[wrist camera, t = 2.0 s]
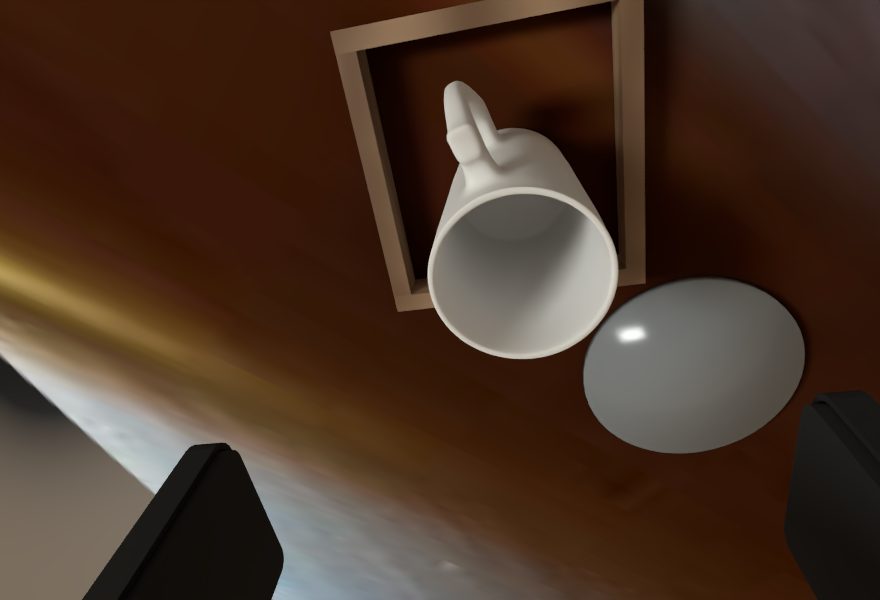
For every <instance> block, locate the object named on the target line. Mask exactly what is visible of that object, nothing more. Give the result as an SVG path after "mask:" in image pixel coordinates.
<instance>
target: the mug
mask: <svg viewBox="0 0 880 600" xmlns="http://www.w3.org/2000/svg"><path fill="white" fill-rule="evenodd" d="M444 108H445V117H446V123H447V129H448V134H447V141H448V143H449V145H450V147H451V149H452V151H453V153H454V155H455V157H456V158H457V160H458V161H459V162H460V164H459V167H458V169H457V171H456V174H455V177H454V180H453V183H452V186H451V189H450V193H449V196H448V199H447V202H446V205H445V208H444V211H443V214H442V217H441V220H440V223H439V226H438V229H437V233H436V236H435V240H434V244H433V247H432V250H431V253H430V258H429V263H428V286H429V291H430V295H431V299H432V302H433V304H434V306H435V309H436V311H437V313H438V314H439V316H440V317H441V319H442V320H443V322H444V323H445V324H446V326H447V327H448V328H449V329H450V330H451V331H452V332H453V333H454V334H455V335H456V336H457V337H459V338H460V339H461V340H463V341H464V342H466V343H467V344H469V345H470V346H472V347H474V348H476V349H478V350H480V351H483V352H485V353H488V354H491V355H495V356H499V357H504V358H512V359H531V358H539V357H545V356H549V355H552V354H555V353H558V352H561V351H563V350H565V349H567V348H569V347H571V346H573V345H574V344H576V343H578V342H579V341H581V340H582V339H583V338H585V337H586V336H587V335H588V334H589V333H590V332H591V331H592V330H593V329H594V328H595V327H596V326H597V325H598V324H599V323H600V321H601V320H602V319H603V317H604V316H605V314H606V313H607V311H608V309H609V307H610V305H611V303H612V301H613V298H614V295H615V292H616V288H617V283H618V259H617V254H616V250H615V246H614V243H613V241H612V239H611V236H610V234H609V233H608V231H607V229H606V227H605V225H604V223H603V221H602V219H601V217H600V215H599V214H598V212H597V210H596V208H595V207H594V205H593V203H592V202H591V200H590V198H589V197H588V195H587V193H586V192H585V190H584V189H583V187H582V185H581V184H580V182H579V180H578V179H577V177H576V175H575V173H574V172H573V170H572V168H571V166H570V165H569V163H568V162H567V161H566V159H565V158H564V156H563V155H562V153H561V152H560V150H559V149H558V148H557V147H556V146H555V144H554V143H552V142H551V141H550V140H549V139H548V138H546V137H545V136H543V135H541V134H539V133H537V132H534V131H531V130H528V129H522V128H507V129H501V130H498V131H497V130H496V128H495V126H494V124H493V121H492V119H491V117H490V114H489V112H488V109H487V107H486V105H485V103H484V101H483V100H482V99H481V98H480V97H479V96H478V94H477V93H476V92H475V91H474V90H472V89H471V88H470V87H469V86H468V85H466V84H465V83H463V82H461V81H455V82H452V83H451V84H449V85H448V86H447V87H446V89H445V92H444Z"/></svg>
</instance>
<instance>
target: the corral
mask: <svg viewBox="0 0 880 600" xmlns="http://www.w3.org/2000/svg"><path fill="white" fill-rule="evenodd" d="M609 1H611V12H612V46H613V79H614V112H615V145H616V178H617V211H618V244H619V255H617V259H618V283H617V286H626V285H634V284H643V283H646V274H645V115H644V0H484V1H479V2H474V3H469V4H464V5H459V6H454V7H450V8H445V9H440V10H435V11H430V12H425V13H420V14H415V15H410V16H405V17H400V18H395V19H391V20H386V21H381V22H376V23H371V24H366V25H361V26H356V27H351V28H346V29H341V30H336V31H332V32H330V33H331V37H332V42H333V46H334V50H335V54H336V58H337V62H338V66H339V70H340V75H341V79H342V83H343V87H344V91H345V95H346V99H347V103H348V108H349V112H350V116H351V120H352V124H353V128H354V132H355V137H356V141H357V145H358V149H359V153H360V157H361V161H362V165H363V170H364V174H365V178H366V182H367V186H368V190H369V194H370V199H371V203H372V207H373V211H374V215H375V219H376V223H377V227H378V232H379V236H380V240H381V244H382V248H383V252H384V256H385V261H386V265H387V269H388V273H389V277H390V281H391V285H392V289H393V294H394V298H395V302H396V306H397V310H398V312H400V311H408V310H417V309H426V308H434V307H435V306H434V304H433V302H432V299H431V295H430V291H429V286H428V278H425V279H417V280H415V275H414V271H413V266H412V262H411V257H410V252H409V248H408V243H407V239H406V234H405V230H404V225H403V220H402V216H401V211H400V207H399V202H398V198H397V193H396V188H395V184H394V179H393V175H392V170H391V166H390V161H389V156H388V152H387V147H386V143H385V138H384V134H383V129H382V124H381V120H380V115H379V111H378V106H377V102H376V97H375V92H374V88H373V83H372V79H371V74H370V70H369V65H368V60H367V56H366V51H365V49H369V48H374V47H379V46H384V45H389V44H394V43H400V42H405V41H410V40H415V39H420V38H425V37H430V36H435V35H440V34H446V33H451V32H456V31H461V30H466V29H471V28H476V27H481V26H486V25H491V24H497V23H502V22H507V21H512V20H517V19H522V18H527V17H532V16H537V15H542V14H548V13H553V12H558V11H563V10H568V9H573V8H578V7H583V6H588V5H594V4H599V3H604V2H609Z"/></svg>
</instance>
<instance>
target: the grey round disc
mask: <svg viewBox="0 0 880 600" xmlns="http://www.w3.org/2000/svg"><path fill="white" fill-rule="evenodd" d="M804 360H805V349H804V341H803V338H802V334H801V331H800V329H799V327H798V325H797V323H796V321H795V320H794V318H793V317H792V316H791V314H790V313H789V312H788V310H787V309H786V308H785V307H784V306H783V305H782V304H781V303H779V302H778V301H777V300H776V299H775V298H774V297H773V296H771V295H770V294H768V293H767V292H765V291H764V290H762V289H760V288H758V287H756V286H753V285H751V284H749V283H746V282H742V281H739V280H736V279H730V278H724V277H711V276H703V277H689V278H683V279H678V280H673V281H670V282H666V283H663V284H660V285H657V286H655V287H652V288H650V289H647V290H645V291H643V292H641V293H640V294H638V295H636V296H634V297H632V298H631V299H629V300H628V301H626V302H625V303H624V304H622V305H621V306H620V307H618V308H617V309H616V310H615V311H614V312H613V313H611V314H610V315H609V317H608V318H607V319H606V320H605V321H604V322H603V323H602V324H601V326H600V327H599V329H598V330H597V331H596V333H595V334H594V336H593V338H592V340H591V342H590V344H589V346H588V349H587V352H586V355H585V359H584V365H583V383H584V389H585V394H586V397H587V400H588V403H589V405H590V407H591V409H592V411H593V413H594V415H595V416H596V417H597V419H598V420H599V421H600V423H601V424H602V425H603V426H604V427H605V428H606V429H607V430H609V431H610V432H611V433H613V434H614V435H615V436H617V437H618V438H620V439H622V440H624V441H626V442H628V443H630V444H632V445H635V446H637V447H640V448H644V449H647V450H652V451H657V452H665V453H692V452H701V451H706V450H711V449H715V448H718V447H722V446H725V445H728V444H731V443H733V442H735V441H738V440H740V439H742V438H744V437H746V436H748V435H750V434H752V433H753V432H755V431H756V430H758V429H759V428H761V427H763V426H764V425H765V424H766V423H768V422H769V421H770V420H771V419H773V418H774V417H775V416H776V415H777V414H778V413H779V412H780V411H781V410H782V409H783V407H784V406H785V405H786V404H787V402H788V401H789V400H790V398H791V397H792V395H793V393H794V392H795V390H796V388H797V386H798V384H799V381H800V379H801V376H802V372H803V368H804Z"/></svg>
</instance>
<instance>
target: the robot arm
mask: <svg viewBox="0 0 880 600" xmlns="http://www.w3.org/2000/svg"><path fill="white" fill-rule="evenodd" d="M784 532H785V537H786V541H787V544H788V547H789V549H790V551H791V553H792V554H793V556H794V558H795V560H796V562H797V563H798V565H799V567H800V569H801V571H802V572H803V574H804V576H805V578H806V580H807V581H808V583H809V585H810V587H811V589H812V590H813V592H814V594H815V596H816V598H817V599H818V600H880V405H879V404H878V403H877V402H876V401H875V400H874V399H873V398H872V397H871V396H870V395H868V394H867V393H866V392H864V391H860V390H858V391H845V392H833V393H821V394H817V395H816V396H815V398H814V399H813V403H812V404H807V405H805V406H804V407H803V408H802V412H801V418H800V425H799V431H798V438H797V444H796V451H795V457H794V464H793V470H792V477H791V483H790V490H789V496H788V503H787V509H786V516H785V522H784ZM283 563H284V556H283V550H282V547H281V545H280V543H279V541H278V539H277V536H276V534H275V532H274V530H273V527H272V525H271V523H270V521H269V518H268V516H267V514H266V512H265V510H264V507H263V505H262V503H261V501H260V498H259V496H258V494H257V492H256V489H255V487H254V485H253V483H252V481H251V478H250V476H249V474H248V472H247V469H246V467H245V465H244V463H243V460H242V458H241V456H240V454H239V453H238V452H237V451H236V450H232V449H231V448H230V446H229V445H228V444H226V443H213V444H201V445H194V446H191V447H190V448H189V449H188V450H187V451H186V452H185V454H184V455H183V456H182V458H181V459H180V461H179V462H178V464H177V465H176V466H175V468H174V469H173V471H172V472H171V474H170V475H169V476H168V478H167V479H166V481H165V482H164V484H163V485H162V486H161V488H160V489H159V491H158V492H157V494H156V495H155V497H154V498H153V499H152V501H151V502H150V504H149V505H148V506H147V508H146V509H145V511H144V512H143V514H142V515H141V516H140V518H139V519H138V521H137V522H136V523H135V525H134V526H133V528H132V529H131V531H130V532H129V534H128V535H127V536H126V538H125V539H124V541H123V542H122V543H121V545H120V547H119V548H118V549H117V551H116V552H115V554H114V555H113V556H112V558H111V559H110V561H109V562H108V563H107V565H106V566H105V568H104V569H103V571H102V572H101V574H100V575H99V576H98V578H97V579H96V581H95V582H94V584H93V585H92V586H91V588H90V589H89V591H88V592H87V593H86V595H85V596H84V598H83V599H82V600H271V599H272V596H273V593H274V591H275V588H276V585H277V583H278V580H279V578H280V575H281V572H282V569H283Z"/></svg>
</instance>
